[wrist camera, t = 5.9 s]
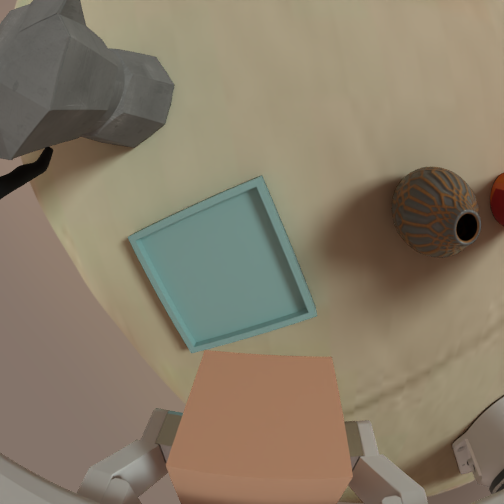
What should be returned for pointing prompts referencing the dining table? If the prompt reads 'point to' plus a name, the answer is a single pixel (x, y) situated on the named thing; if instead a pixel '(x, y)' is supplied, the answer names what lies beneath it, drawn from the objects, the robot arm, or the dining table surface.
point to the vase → (436, 212)
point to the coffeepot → (70, 87)
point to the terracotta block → (261, 432)
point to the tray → (225, 268)
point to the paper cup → (498, 199)
